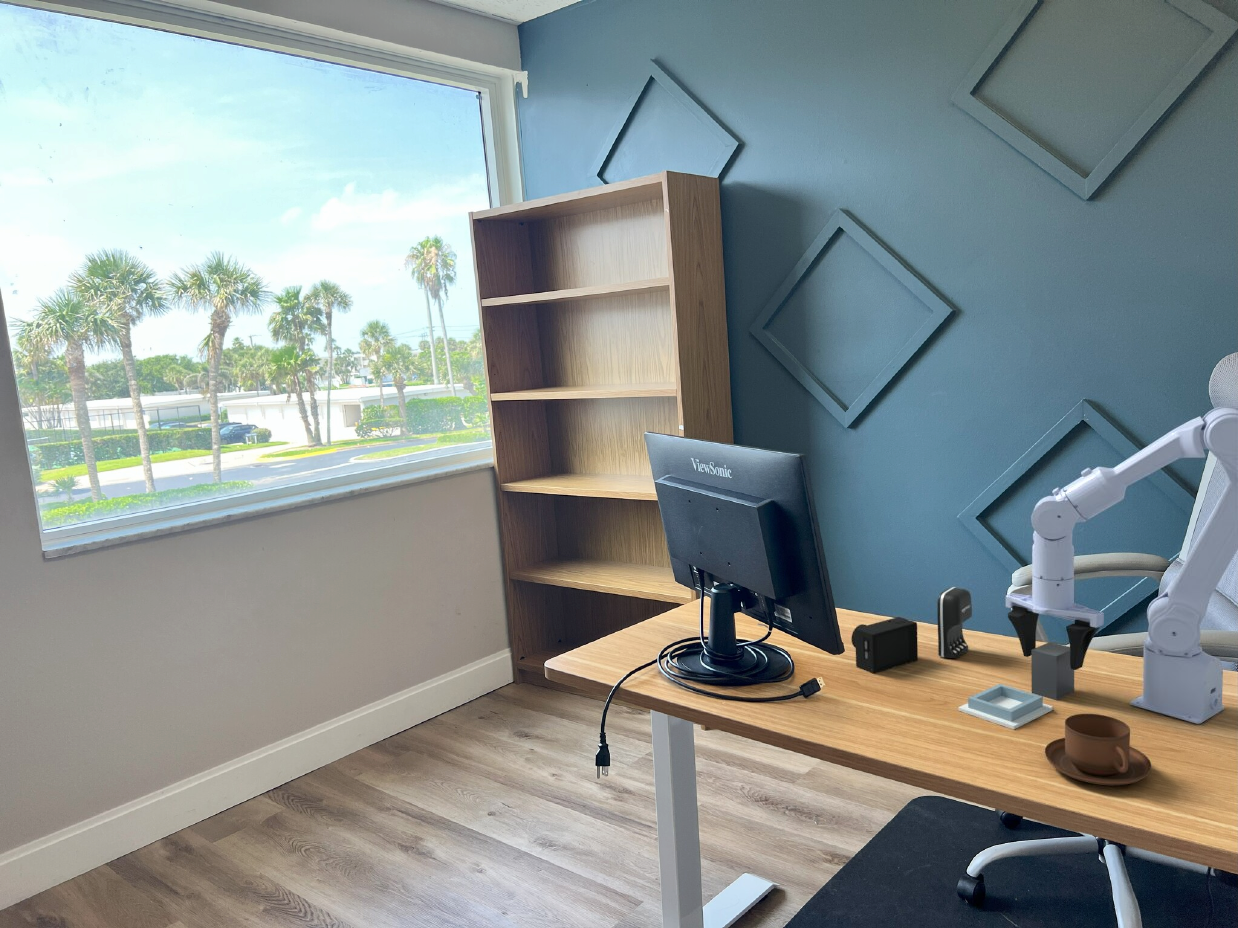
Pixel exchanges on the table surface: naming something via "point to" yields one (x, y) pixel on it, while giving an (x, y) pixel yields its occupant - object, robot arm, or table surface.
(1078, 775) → the cup and saucer
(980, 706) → the socket dock
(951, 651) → the battery charger
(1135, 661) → the table surface
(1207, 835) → the table surface
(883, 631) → the digital camera
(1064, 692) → the plug
